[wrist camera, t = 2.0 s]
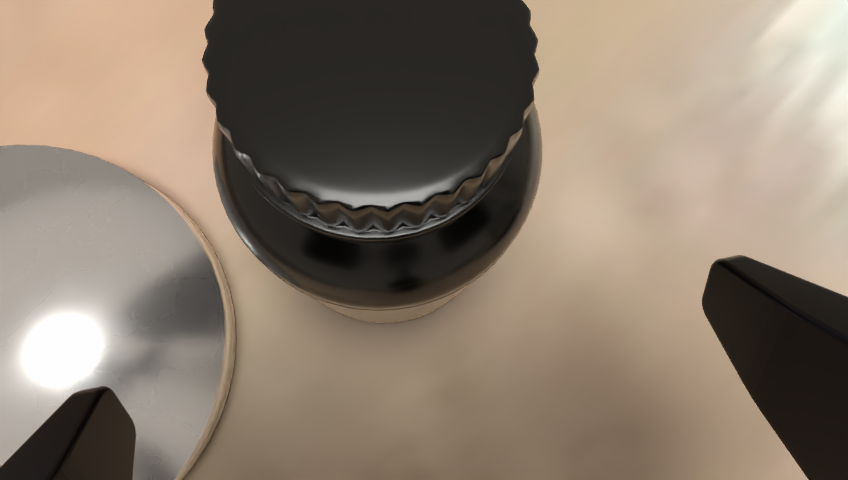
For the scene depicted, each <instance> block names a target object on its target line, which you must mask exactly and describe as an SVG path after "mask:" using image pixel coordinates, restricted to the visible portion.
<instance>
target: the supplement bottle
mask: <svg viewBox="0 0 848 480" xmlns="http://www.w3.org/2000/svg"><path fill="white" fill-rule="evenodd" d="M213 10H214V13H213V16H212V18H211V19H210V21H209V22H208V24H207V26H206V27H205V36H206V40H207V42H208V45H207V47H206V50H205V52H204V55H203V58H202V62H203V65H204V68H205V70H206V72H207V74H208V80H207V88H206V92H207V96H208V98H209V99H210V101H211V102H212V104H213V105H214V106H215V108H216V119H215V125H214V133H213V151H212V154H213V166H214V173H215V178H216V184H217V188H218V191H219V195H220V198H221V201H222V204H223V206H224V208H225V211H226V213H227V216H228V218H229V219H230V221H231V223H232V225H233V227H234V229H235V230H236V232H237V233H238V235H239V236H240V238H241V239H242V240H243V242H244V243H245V245H246V246H247V247H248V248H249V249H250V250H251V252H252V253H253V254H254V255H255V256H256V257H257V258H258V259H259V260H260V261H261V262H262V263H263V264H264V265H265V266H266V267H267V268H268V269H269V270H270V271H271V272H273V273H274V274H275V275H276V276H278V277H279V278H280V279H282V280H283V281H284V282H286V283H287V284H289V285H291V286H292V287H294V288H296V289H297V290H299V291H300V292H302V293H304V294H306V295H307V296H309V297H311V298H313V299H315V300H316V301H318V302H320V303H322V304H323V305H325V306H327V307H329V308H330V309H332V310H334V311H336V312H338V313H340V314H343V315H345V316H348V317H351V318H354V319H357V320H361V321H366V322H372V323H397V322H404V321H408V320H412V319H416V318H418V317H421V316H424V315H426V314H428V313H430V312H432V311H434V310H436V309H438V308H439V307H441V306H443V305H444V304H446V303H447V302H448V301H450V300H451V299H452V298H454V297H455V296H456V295H457V294H459V293H460V292H461V291H462V290H464V289H465V288H466V287H467V286H469V285H470V284H471V283H472V282H474V281H475V280H476V279H477V278H479V277H480V276H481V275H482V274H483V273H485V272H486V271H487V270H488V269H489V268H490V267H491V266H492V265H493V264H494V263H495V262H496V261H497V260H498V259H499V258H500V257H501V256H502V255H503V253H504V252H505V251H506V250H507V248H508V247H509V246H510V244H511V243H512V242H513V240H514V239H515V237H516V236H517V235H518V233H519V231H520V229H521V228H522V226H523V224H524V223H525V221H526V219H527V216H528V214H529V212H530V210H531V208H532V205H533V202H534V199H535V196H536V193H537V189H538V184H539V180H540V174H541V165H542V137H541V128H540V123H539V118H538V114H537V110H536V107H535V104H534V90H533V85H534V83H535V81H536V79H537V77H538V74H539V67H538V63H537V60H536V58H535V52H536V48H537V44H538V39H537V37H536V35H535V33H534V31H533V30H532V28H531V26H530V20H531V11H530V10H529V8H528V7H527V6H526V4H525V3H524V2H523V1H522V0H213Z"/></svg>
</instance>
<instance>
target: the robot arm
mask: <svg viewBox="0 0 848 480" xmlns="http://www.w3.org/2000/svg"><path fill="white" fill-rule="evenodd" d="M702 306H703V310H704V313H705V315H706V317H707V319H708V321H709V323H710V324H711V326H712V328H713V330H714V332H715V333H716V335H717V337H718V339H719V341H720V342H721V344H722V346H723V348H724V350H725V351H726V353H727V355H728V357H729V359H730V360H731V362H732V364H733V366H734V368H735V369H736V371H737V373H738V375H739V377H740V378H741V380H742V382H743V384H744V385H745V387H746V389H747V390H748V392H749V394H750V395H751V397H752V399H753V400H754V402H755V403H756V405H757V406H758V408H759V409H760V411H761V412H762V414H763V415H764V417H765V418H766V419H767V421H768V422H769V424H770V425H771V427H772V428H773V429H774V431H775V432H776V434H777V435H778V437H779V438H780V439H781V441H782V442H783V444H784V445H785V447H786V448H787V449H788V451H789V452H790V454H791V455H792V457H793V458H794V459H795V461H796V462H797V464H798V465H799V467H800V468H801V469H802V471H803V472H804V474H805V475H806V477H807V478H808V479H809V480H848V297H847V296H844V295H842V294H839V293H836V292H834V291H831V290H829V289H826V288H824V287H821V286H819V285H816V284H814V283H811V282H809V281H806V280H804V279H801V278H799V277H796V276H794V275H791V274H789V273H786V272H784V271H781V270H779V269H776V268H774V267H771V266H769V265H766V264H764V263H761V262H759V261H756V260H754V259H751V258H749V257H746V256H742V255H737V256H732V257H727V258H722V259H718V260H716V261H715V262H714V263H713V264H712V265H711V268H710V272H709V275H708V279H707V282H706V286H705V290H704V293H703V297H702ZM135 443H136V429H135V425H134V422H133V420H132V418H131V417H130V415H129V414H128V412H127V411H126V409H125V408H124V406H123V405H122V403H121V402H120V400H119V399H118V397H117V396H116V394H115V393H114V392H113V390H112V389H111V388H109V387H107V386H99V387H95V388H90V389H85V390H80V391H77V392H75V393H73V394H72V395H71V396H70V397H69V398H68V399H67V400H66V401H65V402H64V403H63V404H62V405H61V406H60V407H59V408H58V409H57V410H56V411H55V412H54V413H53V414H52V415H51V416H50V417H49V418H48V419H47V420H46V421H45V422H44V423H43V424H42V425H41V426H40V427H39V428H38V429H37V430H36V431H35V432H34V433H33V434H32V435H31V436H30V437H29V438H28V439H27V440H26V441H25V442H24V443H23V444H22V445H21V446H20V447H19V448H18V449H17V451H16V452H15V453H14V454H13V455H12V456H11V457H10V458H9V459H8V460H7V461H6V462H5V463H4V464H3V465H2V466H1V467H0V480H132V479H133V467H134V455H135Z"/></svg>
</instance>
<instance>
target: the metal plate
mask: <svg viewBox="0 0 848 480" xmlns="http://www.w3.org/2000/svg"><path fill="white" fill-rule="evenodd" d="M235 349H236V328H235V313H234V308H233V303H232V298H231V293H230V289H229V286H228V283H227V280H226V277H225V274H224V271H223V268H222V266H221V264H220V262H219V260H218V258H217V256H216V254H215V252H214V250H213V248H212V246H211V244H210V243H209V242H208V240H207V239H206V237H205V236H204V235H203V233H202V232H201V230H200V229H199V227H198V226H197V225H196V224H195V223H194V222H193V220H192V219H191V218H190V217H189V216H188V215H187V214H186V213H185V212H184V211H183V210H182V209H181V208H180V207H179V206H178V205H177V204H175V203H174V202H173V201H172V200H170V199H169V198H168V197H167V196H165V195H164V194H163V193H162V192H160V191H158V190H157V189H155V188H154V187H152V186H150V185H149V184H147V183H146V182H144V181H142V180H141V179H139V178H137V177H136V176H134V175H132V174H131V173H129V172H127V171H126V170H124V169H122V168H121V167H119V166H116V165H114V164H112V163H109V162H107V161H105V160H102V159H100V158H98V157H95V156H91V155H88V154H84V153H81V152H77V151H74V150H70V149H63V148H57V147H50V146H40V145H9V146H0V467H1V466H2V465H3V464H4V463H5V462H6V461H7V460H8V459H9V458H10V457H11V456H12V455H13V454H14V453H15V452H16V451H17V449H18V448H19V447H20V446H21V445H22V444H23V443H24V442H25V441H26V440H27V439H28V438H29V437H30V436H31V435H32V434H33V433H34V432H35V431H36V430H37V429H38V428H39V427H40V426H41V425H42V424H43V423H44V422H45V421H46V420H47V419H48V418H49V417H50V416H51V415H52V414H53V413H54V412H55V411H56V410H57V409H58V408H59V407H60V406H61V405H62V404H63V403H64V402H65V401H66V400H67V399H68V398H69V397H70V396H71V395H72V394H73V393H75V392H77V391H80V390H85V389H90V388H95V387H99V386H107V387H109V388H111V389H112V390H113V392H114V393H115V394H116V396H117V397H118V399H119V400H120V402H121V403H122V405H123V406H124V408H125V409H126V411H127V412H128V414H129V415H130V417H131V418H132V420H133V422H134V425H135V429H136V443H135V455H134V467H133V479H132V480H182V479H183V478H184V477H185V476H186V474H187V473H188V472H189V471H190V470H191V468H192V467H193V466H194V464H195V463H196V461H197V460H198V458H199V456H200V455H201V453H202V452H203V450H204V449H205V447H206V445H207V444H208V442H209V440H210V438H211V436H212V434H213V432H214V430H215V428H216V426H217V423H218V421H219V419H220V417H221V414H222V411H223V408H224V405H225V402H226V399H227V396H228V393H229V390H230V385H231V380H232V375H233V370H234V364H235Z"/></svg>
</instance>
